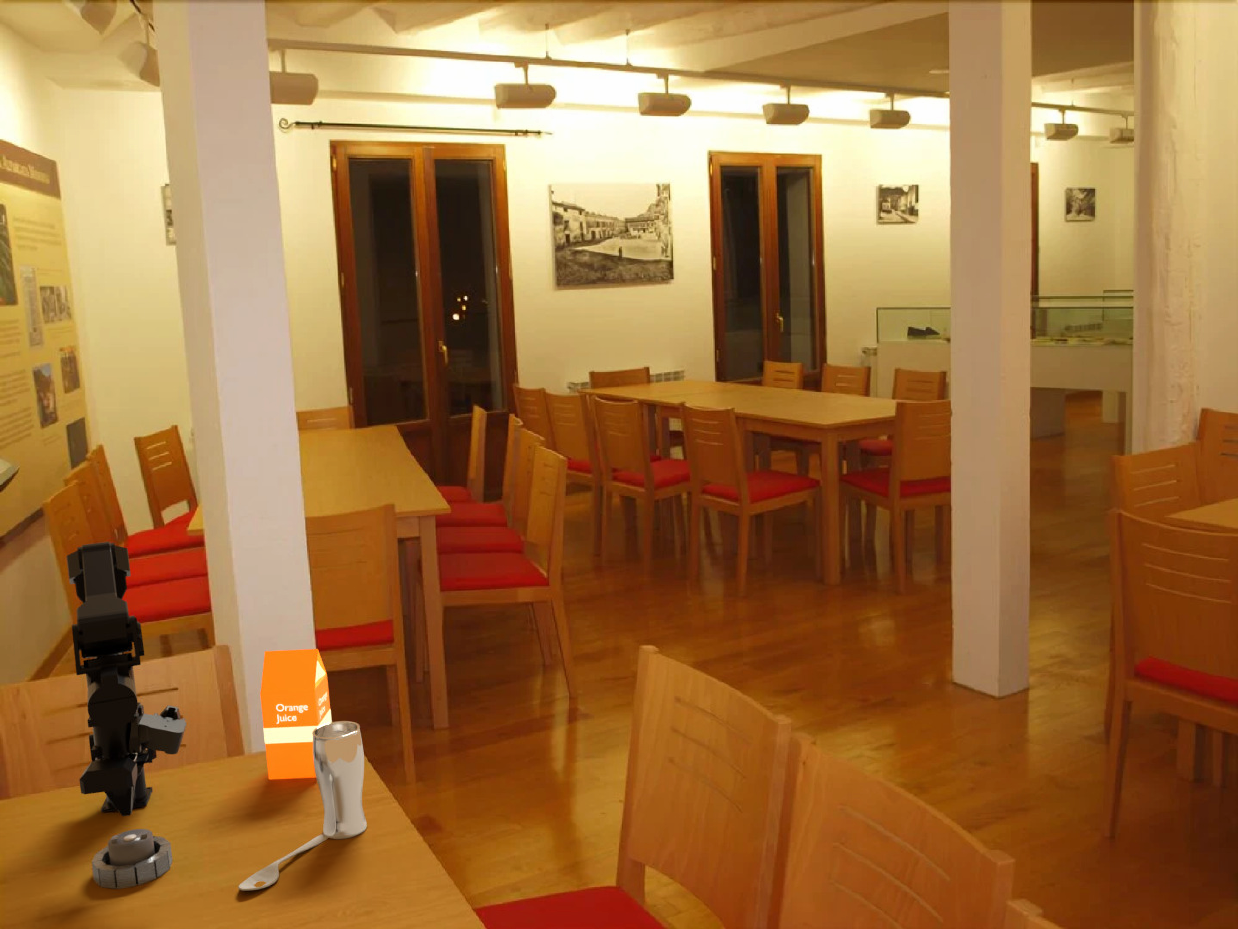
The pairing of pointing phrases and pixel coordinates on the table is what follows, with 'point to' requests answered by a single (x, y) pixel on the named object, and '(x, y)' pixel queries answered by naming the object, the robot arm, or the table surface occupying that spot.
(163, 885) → the table surface
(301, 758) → the orange juice
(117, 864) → the cap
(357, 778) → the beer glass
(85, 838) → the table surface
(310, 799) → the table surface
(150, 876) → the segmented ring
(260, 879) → the spoon
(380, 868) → the table surface
